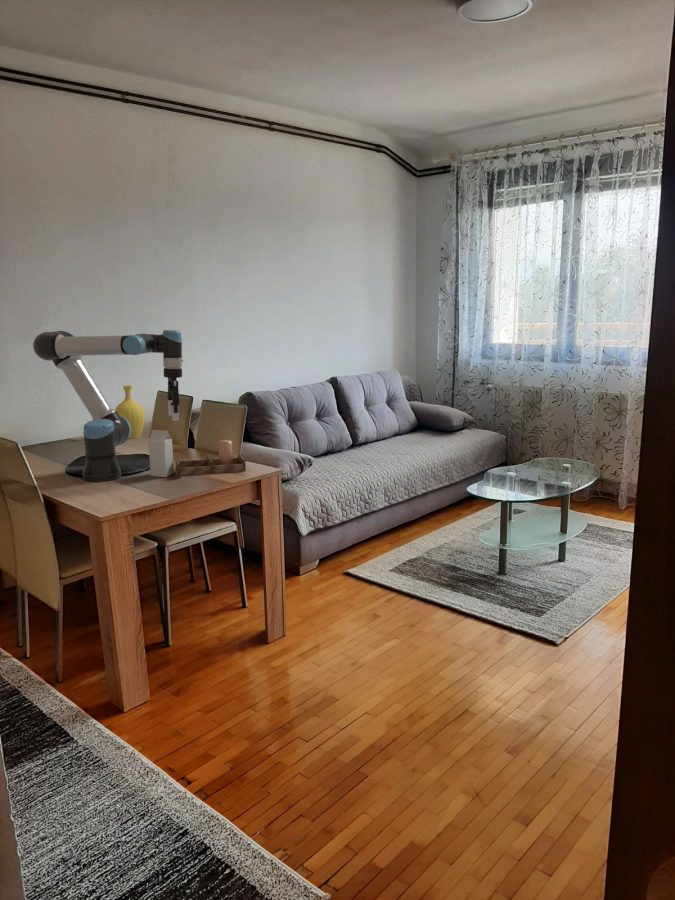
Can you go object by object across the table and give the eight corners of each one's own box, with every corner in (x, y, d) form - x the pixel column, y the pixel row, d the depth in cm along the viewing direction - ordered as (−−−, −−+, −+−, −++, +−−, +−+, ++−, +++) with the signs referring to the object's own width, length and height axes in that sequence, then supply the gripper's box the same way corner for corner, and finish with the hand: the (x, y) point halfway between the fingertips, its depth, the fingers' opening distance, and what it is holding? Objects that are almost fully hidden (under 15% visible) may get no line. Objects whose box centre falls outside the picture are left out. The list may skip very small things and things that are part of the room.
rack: (178, 478, 273) (177, 463, 271) (175, 470, 286) (175, 456, 284) (245, 473, 281) (245, 459, 280) (240, 466, 294) (239, 452, 293)
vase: (127, 433, 371) (124, 383, 365) (151, 435, 366) (149, 384, 360) (108, 438, 356) (105, 386, 350) (134, 440, 351) (131, 388, 345)
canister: (220, 470, 282) (219, 442, 279) (218, 467, 287) (217, 440, 284) (233, 469, 283) (232, 442, 281) (231, 466, 288) (230, 439, 286)
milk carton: (166, 477, 274) (164, 432, 270) (150, 476, 276) (147, 431, 272) (173, 473, 281) (171, 429, 277) (158, 472, 282) (155, 428, 278)
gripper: (186, 370, 265) (186, 422, 270) (178, 364, 288) (178, 413, 292) (166, 370, 263) (167, 423, 267) (160, 364, 285) (161, 413, 290)
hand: (173, 418), depth 280 cm, fingers open, 13 cm apart
